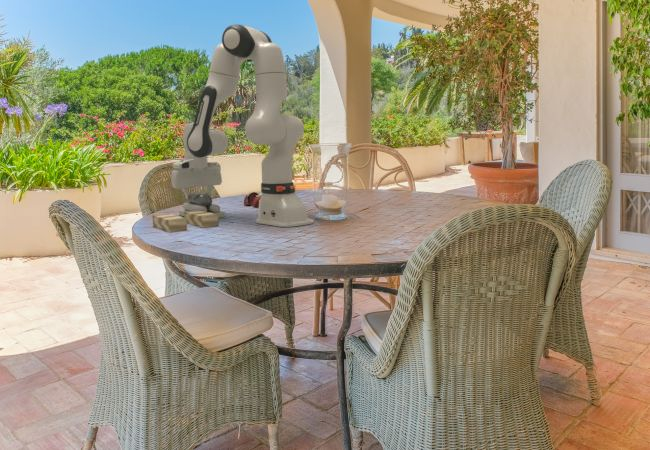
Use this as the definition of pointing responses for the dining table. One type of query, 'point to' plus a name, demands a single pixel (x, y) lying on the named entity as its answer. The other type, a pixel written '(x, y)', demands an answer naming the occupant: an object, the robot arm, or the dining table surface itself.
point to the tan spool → (185, 220)
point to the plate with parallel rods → (202, 209)
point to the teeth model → (252, 199)
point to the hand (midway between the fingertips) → (198, 198)
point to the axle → (200, 200)
